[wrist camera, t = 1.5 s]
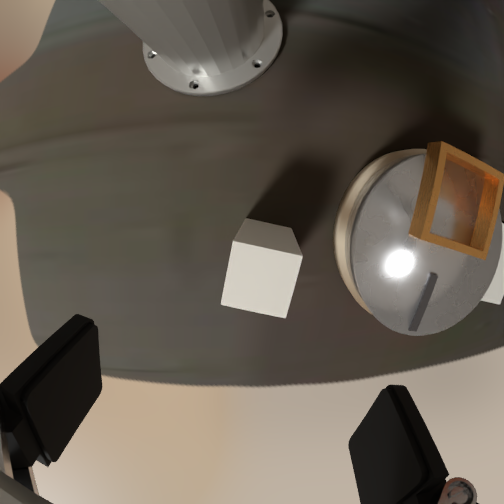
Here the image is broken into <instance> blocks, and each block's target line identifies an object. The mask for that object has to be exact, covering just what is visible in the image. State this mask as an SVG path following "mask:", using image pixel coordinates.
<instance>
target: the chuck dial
mask: <svg viewBox="0 0 504 504" xmlns="http://www.w3.org/2000/svg"><path fill="white" fill-rule="evenodd" d="M503 184H504V174H502V173H501V172H499V171H497V170H496V169H494V168H492V167H491V166H489V165H487V164H485V163H484V162H482V161H480V160H478V159H476V158H474V157H473V156H471V155H469V154H467V153H465V152H463V151H461V150H459V149H457V148H455V147H453V146H451V145H449V144H447V143H445V142H443V141H438V142H431V143H428V146H427V152H426V154H416V155H409V156H405V157H402V158H399V159H396V160H394V161H392V162H390V163H388V164H387V165H385V166H384V167H383V168H381V169H380V170H378V171H377V172H376V173H375V174H374V175H373V176H372V177H371V178H370V179H369V181H368V182H367V183H366V184H365V186H364V187H363V188H362V190H361V192H360V193H359V195H358V197H357V198H356V201H355V203H354V205H353V207H352V210H351V213H350V216H349V219H348V223H347V228H346V234H345V258H346V264H347V269H348V272H349V276H350V279H351V281H352V283H353V285H354V288H355V289H356V291H357V292H358V294H359V296H360V297H361V298H362V300H363V301H364V303H365V304H366V306H367V307H368V309H369V310H370V312H371V313H372V314H373V315H374V316H375V317H376V319H377V320H379V321H380V322H381V323H382V324H383V325H385V326H386V327H388V328H390V329H391V330H394V331H396V332H399V333H402V334H406V335H415V336H421V335H429V334H433V333H437V332H440V331H443V330H445V329H447V328H449V327H451V326H453V325H455V324H456V323H458V322H459V321H460V320H462V319H463V318H464V317H465V316H467V315H468V314H469V313H470V312H471V311H472V310H473V309H474V308H475V307H476V305H477V304H478V303H479V302H480V300H481V299H482V298H483V296H484V295H485V293H486V291H487V290H488V288H489V286H490V284H491V282H492V280H493V278H494V275H495V273H496V270H497V267H498V263H499V259H500V254H501V248H502V221H501V214H500V210H499V206H500V201H501V196H502V190H503Z"/></svg>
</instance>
